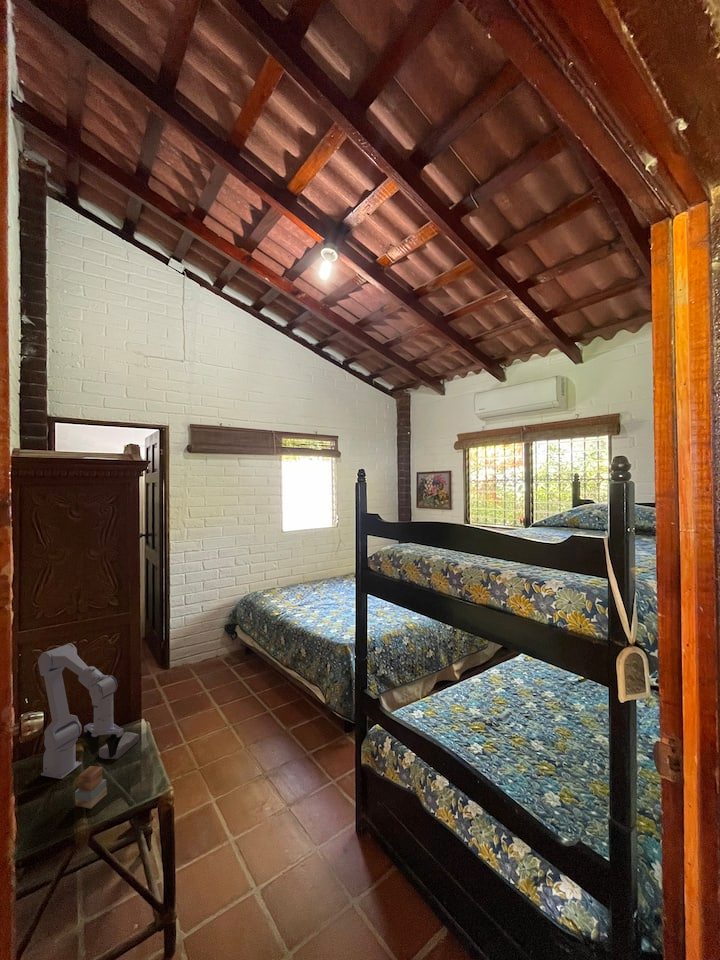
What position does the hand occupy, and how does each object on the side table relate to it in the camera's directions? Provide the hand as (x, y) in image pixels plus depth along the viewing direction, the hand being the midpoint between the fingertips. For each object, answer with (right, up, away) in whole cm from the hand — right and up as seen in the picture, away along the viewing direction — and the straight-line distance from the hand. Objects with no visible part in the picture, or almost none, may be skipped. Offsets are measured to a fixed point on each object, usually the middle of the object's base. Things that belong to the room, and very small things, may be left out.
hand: (103, 754), depth 134 cm
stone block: (-6, -11, +18) cm, 23 cm away
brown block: (0, -11, -7) cm, 12 cm away
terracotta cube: (0, -6, -7) cm, 9 cm away
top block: (0, -8, -7) cm, 10 cm away
